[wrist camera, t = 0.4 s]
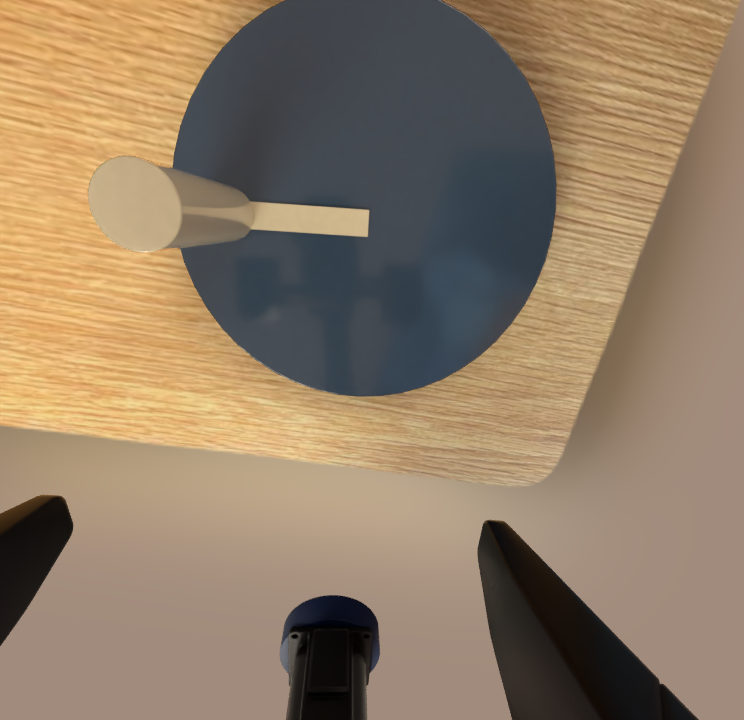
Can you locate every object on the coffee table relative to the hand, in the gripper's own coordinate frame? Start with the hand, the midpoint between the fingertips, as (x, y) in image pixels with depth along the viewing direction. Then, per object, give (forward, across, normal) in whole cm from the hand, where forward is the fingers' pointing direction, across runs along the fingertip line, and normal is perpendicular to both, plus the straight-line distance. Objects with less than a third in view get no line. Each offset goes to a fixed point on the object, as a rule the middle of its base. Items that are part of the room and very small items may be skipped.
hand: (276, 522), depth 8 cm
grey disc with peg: (+14, -1, -5) cm, 15 cm away
